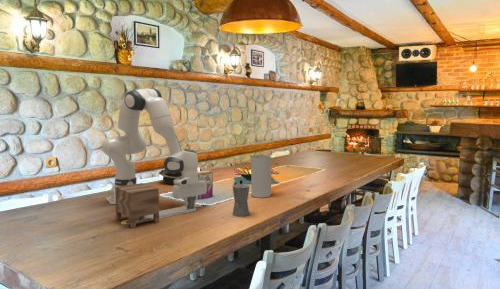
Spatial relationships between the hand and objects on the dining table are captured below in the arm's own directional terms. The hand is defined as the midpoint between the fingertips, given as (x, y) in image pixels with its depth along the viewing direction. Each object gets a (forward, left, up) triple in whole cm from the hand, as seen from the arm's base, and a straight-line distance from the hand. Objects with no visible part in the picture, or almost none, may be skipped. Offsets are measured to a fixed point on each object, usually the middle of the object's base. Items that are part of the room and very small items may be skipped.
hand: (190, 204), depth 207 cm
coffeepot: (+24, +15, -3) cm, 29 cm away
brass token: (0, -37, -3) cm, 37 cm away
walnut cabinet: (0, -31, -3) cm, 31 cm away
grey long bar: (0, -16, -3) cm, 17 cm away
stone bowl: (-70, +33, -3) cm, 77 cm away
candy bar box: (-18, +21, -3) cm, 28 cm away
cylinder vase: (+2, +51, -3) cm, 51 cm away
